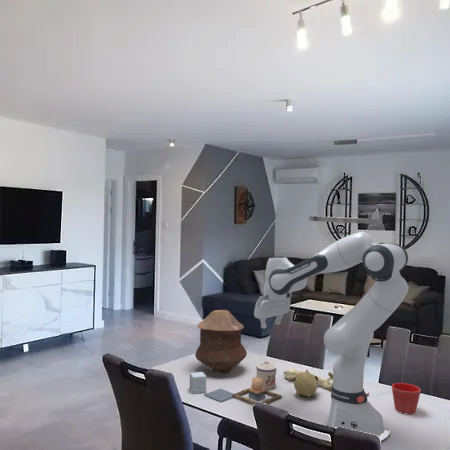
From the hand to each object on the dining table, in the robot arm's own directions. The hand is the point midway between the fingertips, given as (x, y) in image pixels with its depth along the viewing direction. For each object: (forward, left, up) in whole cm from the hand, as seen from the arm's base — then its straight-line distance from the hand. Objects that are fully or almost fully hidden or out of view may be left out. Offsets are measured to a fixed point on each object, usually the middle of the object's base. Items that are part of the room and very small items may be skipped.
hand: (270, 326), depth 198 cm
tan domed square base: (+5, +2, -28) cm, 29 cm away
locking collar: (+5, +2, -31) cm, 32 cm away
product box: (+28, +15, -32) cm, 45 cm away
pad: (+17, +12, -31) cm, 37 cm away
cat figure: (0, -29, -32) cm, 43 cm away
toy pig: (-8, -16, -32) cm, 36 cm away
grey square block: (+5, +2, -31) cm, 32 cm away
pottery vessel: (+40, -12, -32) cm, 52 cm away
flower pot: (-45, -32, -32) cm, 64 cm away
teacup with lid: (+11, -13, -32) cm, 36 cm away
